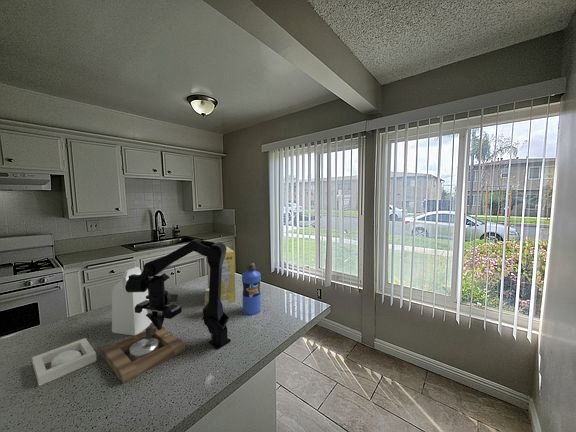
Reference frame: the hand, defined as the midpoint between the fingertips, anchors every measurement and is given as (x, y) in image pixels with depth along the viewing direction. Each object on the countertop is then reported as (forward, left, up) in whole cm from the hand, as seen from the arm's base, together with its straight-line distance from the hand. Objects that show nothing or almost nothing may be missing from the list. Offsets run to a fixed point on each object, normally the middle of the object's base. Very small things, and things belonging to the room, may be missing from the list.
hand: (159, 329), depth 93 cm
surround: (-3, +7, -5) cm, 9 cm away
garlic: (+12, +25, -5) cm, 29 cm away
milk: (+20, +2, -5) cm, 21 cm away
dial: (-1, +5, -5) cm, 7 cm away
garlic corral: (+13, +26, -5) cm, 29 cm away
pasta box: (+15, -40, -5) cm, 43 cm away
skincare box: (+3, -26, -5) cm, 27 cm away
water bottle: (-10, -40, -5) cm, 42 cm away
